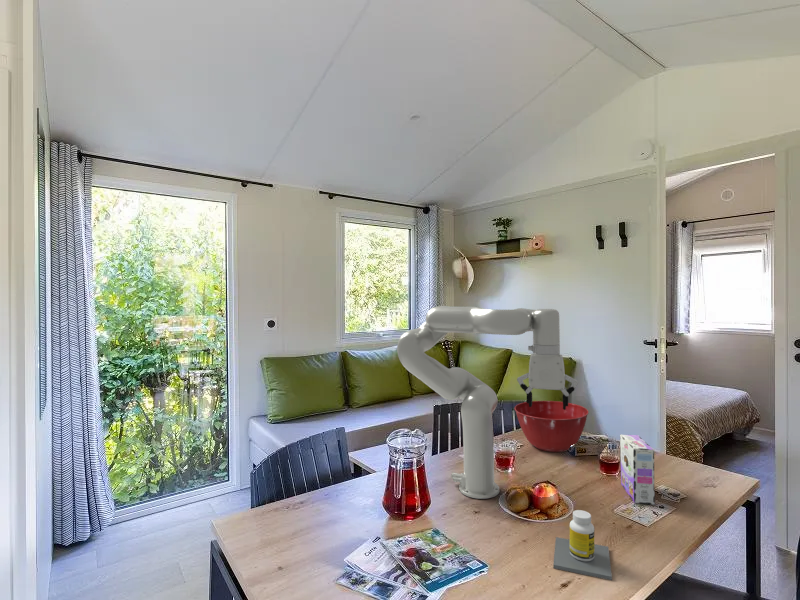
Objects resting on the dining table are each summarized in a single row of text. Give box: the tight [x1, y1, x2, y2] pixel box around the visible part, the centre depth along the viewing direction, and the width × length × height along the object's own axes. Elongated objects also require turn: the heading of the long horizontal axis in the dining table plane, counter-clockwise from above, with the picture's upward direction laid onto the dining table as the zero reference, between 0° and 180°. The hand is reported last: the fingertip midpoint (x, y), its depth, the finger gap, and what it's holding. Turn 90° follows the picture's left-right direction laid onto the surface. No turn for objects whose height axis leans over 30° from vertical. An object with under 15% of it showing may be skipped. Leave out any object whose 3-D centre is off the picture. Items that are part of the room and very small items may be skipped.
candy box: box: [619, 434, 656, 506], centre depth 134 cm, size 14×6×16 cm, turn 168°
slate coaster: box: [552, 536, 613, 581], centre depth 102 cm, size 12×12×1 cm
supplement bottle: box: [569, 509, 595, 561], centre depth 102 cm, size 5×5×10 cm
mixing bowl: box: [514, 400, 589, 453], centre depth 176 cm, size 28×28×15 cm
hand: (547, 407), depth 130 cm, fingers open, 9 cm apart
